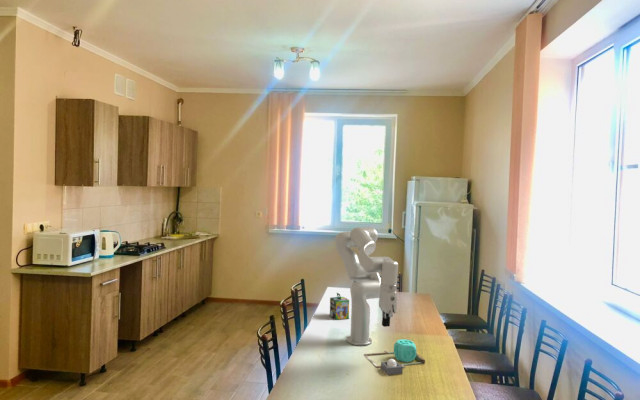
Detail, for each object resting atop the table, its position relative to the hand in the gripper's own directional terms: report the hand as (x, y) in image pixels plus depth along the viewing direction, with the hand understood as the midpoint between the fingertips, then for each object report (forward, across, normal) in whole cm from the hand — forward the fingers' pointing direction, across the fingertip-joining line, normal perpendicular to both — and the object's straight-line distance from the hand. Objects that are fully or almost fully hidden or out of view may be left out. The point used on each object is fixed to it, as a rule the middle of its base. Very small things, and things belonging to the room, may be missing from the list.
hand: (385, 325), depth 206 cm
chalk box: (+19, +64, 0) cm, 67 cm away
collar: (+15, -13, +2) cm, 20 cm away
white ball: (+14, -13, +2) cm, 20 cm away
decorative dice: (+16, -2, -10) cm, 19 cm away
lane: (+16, -2, -4) cm, 16 cm away
